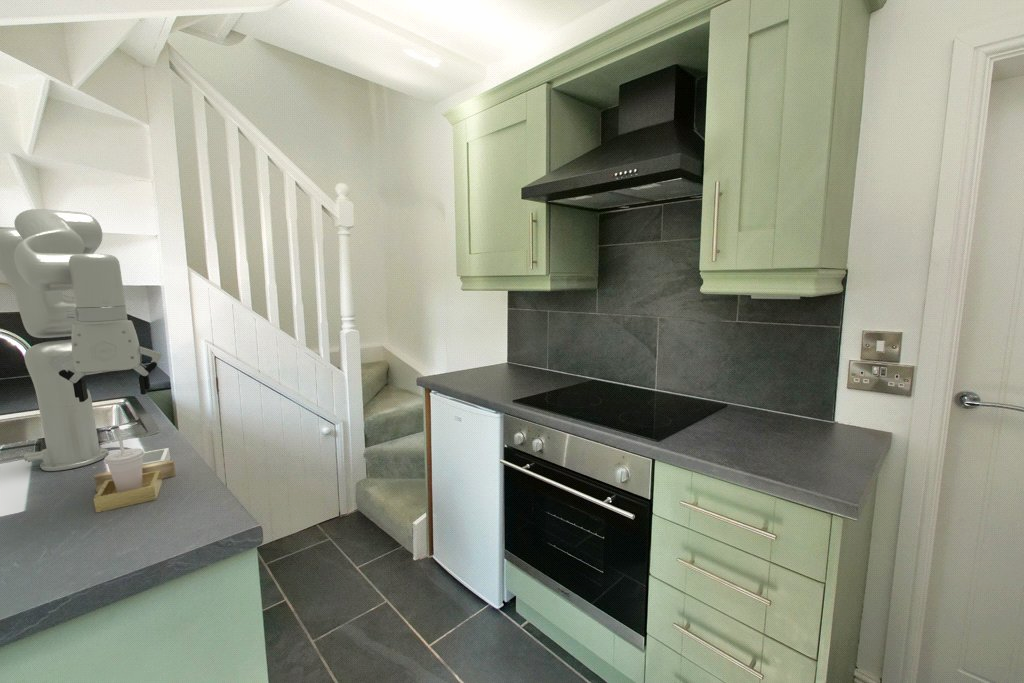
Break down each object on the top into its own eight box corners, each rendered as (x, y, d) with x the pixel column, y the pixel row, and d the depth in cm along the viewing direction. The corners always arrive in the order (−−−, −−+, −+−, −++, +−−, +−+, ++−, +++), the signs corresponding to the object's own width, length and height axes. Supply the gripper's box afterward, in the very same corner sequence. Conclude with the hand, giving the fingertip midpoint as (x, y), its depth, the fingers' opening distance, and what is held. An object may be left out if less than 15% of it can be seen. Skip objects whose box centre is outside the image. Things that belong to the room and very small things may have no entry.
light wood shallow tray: (95, 512, 90) (93, 498, 89) (107, 493, 98) (105, 480, 97) (156, 499, 95) (154, 486, 94) (162, 482, 103) (160, 469, 102)
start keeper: (113, 482, 103) (111, 470, 103) (122, 467, 111) (120, 456, 111) (165, 472, 108) (163, 460, 108) (170, 458, 116) (168, 447, 116)
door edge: (96, 492, 98) (94, 477, 98) (98, 488, 100) (96, 473, 99) (174, 476, 106) (173, 462, 105) (175, 473, 107) (174, 459, 107)
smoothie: (104, 505, 92) (93, 441, 90) (121, 491, 98) (112, 431, 96) (140, 501, 94) (131, 438, 92) (155, 487, 100) (147, 428, 98)
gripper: (36, 319, 83) (51, 408, 85) (153, 314, 92) (164, 394, 94) (49, 316, 89) (64, 399, 92) (158, 311, 98) (168, 387, 101)
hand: (115, 396), depth 93 cm, fingers open, 9 cm apart
